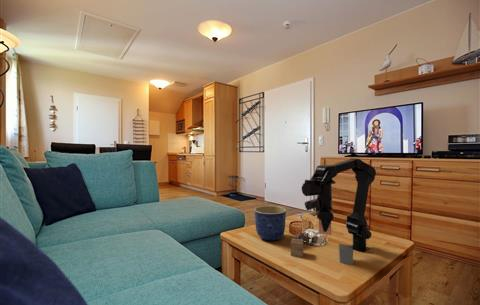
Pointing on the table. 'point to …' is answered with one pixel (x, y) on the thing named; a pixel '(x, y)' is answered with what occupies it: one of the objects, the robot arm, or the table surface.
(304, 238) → the walkie-talkie
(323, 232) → the terracotta block
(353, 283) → the table surface
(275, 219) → the planter
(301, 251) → the walnut block
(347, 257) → the charcoal block
